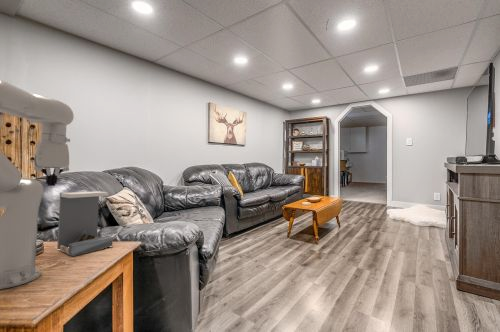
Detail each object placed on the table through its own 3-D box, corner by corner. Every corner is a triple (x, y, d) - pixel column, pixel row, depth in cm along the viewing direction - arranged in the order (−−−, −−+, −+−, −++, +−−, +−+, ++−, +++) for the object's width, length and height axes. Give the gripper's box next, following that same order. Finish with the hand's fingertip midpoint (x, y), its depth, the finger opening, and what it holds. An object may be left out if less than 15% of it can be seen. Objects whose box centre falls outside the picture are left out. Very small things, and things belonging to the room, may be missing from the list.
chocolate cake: (85, 255, 94) (101, 229, 103) (67, 251, 92) (84, 225, 101) (87, 264, 100) (101, 239, 109) (69, 260, 98) (86, 236, 107)
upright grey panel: (106, 245, 105) (108, 192, 106) (66, 254, 92) (69, 194, 93) (95, 241, 110) (97, 191, 111) (57, 249, 97) (60, 193, 98)
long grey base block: (112, 246, 102) (112, 237, 102) (72, 256, 89) (72, 245, 89) (98, 241, 109) (99, 233, 109) (59, 250, 96) (60, 240, 96)
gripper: (73, 142, 99) (71, 184, 98) (25, 138, 87) (22, 185, 86) (79, 141, 94) (77, 185, 93) (30, 136, 82) (27, 186, 81)
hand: (51, 185), depth 90 cm, fingers closed
